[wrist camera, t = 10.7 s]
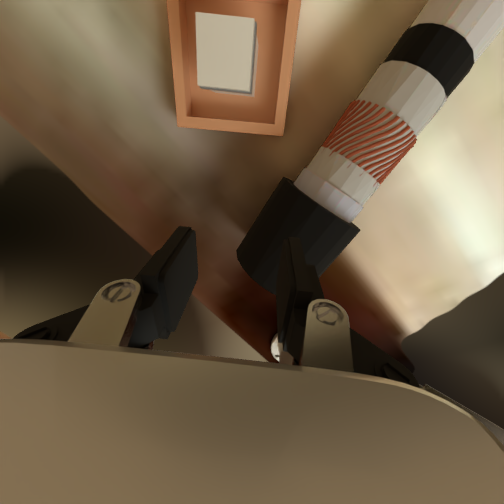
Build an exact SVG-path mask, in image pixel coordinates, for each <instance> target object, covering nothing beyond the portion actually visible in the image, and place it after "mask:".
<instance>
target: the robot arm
mask: <svg viewBox="0 0 504 504" xmlns="http://www.w3.org/2000/svg"><path fill="white" fill-rule="evenodd" d="M197 279H198V264H197V249H196V234H195V231H194V230H192V229H191V227H182V226H179V227H178V228H177V229H176V230H175V232H174V233H173V234H172V235H171V237H170V238H169V239H168V240H167V242H166V243H165V244H164V245H163V247H162V248H161V249H160V250H158V251H157V252H156V253H155V254H154V255H153V257H152V258H151V259H150V260H149V262H148V263H147V264H146V265H145V266H144V267H143V269H142V270H141V271H140V272H139V274H138V275H137V276H136V277H135V279H134V280H131V279H123V280H117V281H114V282H111V283H109V284H107V285H105V286H104V287H103V288H101V289H100V291H98V293H97V294H96V296H95V298H94V300H93V301H92V303H91V304H90V305H87V306H84V307H82V308H79V309H76V310H74V311H71V312H68V313H66V314H63V315H60V316H58V317H55V318H52V319H50V320H47V321H44V322H42V323H39V324H36V325H34V326H31V327H29V328H27V329H25V330H24V331H22V332H20V333H19V334H17V335H16V336H15V337H14V338H13V339H0V504H504V430H503V429H501V428H500V427H498V426H497V425H495V424H493V423H492V422H490V421H488V420H486V419H484V418H483V417H481V416H480V415H478V414H476V413H474V412H472V411H471V410H469V409H467V408H466V407H464V406H462V405H461V404H459V403H457V402H456V401H454V400H452V399H451V398H449V397H447V396H445V395H444V394H442V393H440V392H439V391H437V390H435V389H433V388H432V387H430V386H428V385H427V384H425V385H424V386H421V385H419V384H418V382H417V380H416V379H415V377H414V376H413V374H412V373H411V372H410V371H409V370H408V369H407V368H406V367H405V366H404V365H402V364H401V363H400V362H398V361H397V360H395V359H394V358H392V357H391V356H390V355H388V354H387V353H385V352H384V351H382V350H381V349H380V348H378V347H377V346H375V345H374V344H372V343H371V342H370V341H368V340H367V339H365V338H364V337H362V336H361V335H360V334H358V333H357V332H355V331H354V330H352V329H351V328H350V327H349V319H348V315H347V313H346V312H345V310H344V309H343V308H342V307H341V306H340V305H338V304H337V303H335V302H333V301H330V300H326V299H325V298H324V295H323V292H322V288H321V285H320V282H319V278H318V275H317V272H316V268H315V266H314V265H311V264H306V261H305V257H304V253H303V249H302V245H301V241H300V238H295V237H288V239H287V240H286V239H284V240H283V246H282V252H281V257H280V263H279V269H278V275H277V281H276V304H277V330H278V333H277V334H276V335H275V336H274V337H273V339H272V342H271V352H272V355H273V356H274V358H275V359H276V360H277V361H279V364H278V363H270V362H260V361H252V360H242V359H234V358H224V357H215V356H206V355H196V354H187V353H177V352H168V351H158V350H152V349H153V345H154V340H155V339H158V338H162V339H168V337H169V335H170V332H174V331H175V330H176V327H177V325H178V323H179V320H180V318H181V316H182V314H183V311H184V309H185V307H186V304H187V302H188V300H189V297H190V295H191V293H192V291H193V288H194V286H195V284H196V281H197Z"/></svg>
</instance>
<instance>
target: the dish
mask: <svg viewBox="0 0 504 504" xmlns="http://www.w3.org/2000/svg"><path fill="white" fill-rule="evenodd" d="M300 5H301V0H167V11H168V23H169V34H170V45H171V57H172V68H173V79H174V91H175V102H176V113H177V124H178V127H186V128H198V129H209V130H220V131H231V132H242V133H253V134H264V135H275V136H283V133H284V125H285V118H286V110H287V103H288V95H289V88H290V80H291V73H292V65H293V58H294V50H295V43H296V35H297V28H298V20H299V13H300ZM195 12H201V13H211V14H220V15H229V16H238V17H248V18H254V20H255V21H256V22H257V39H258V58H257V70H256V82H255V94H254V97H251V96H242V95H232V94H223V93H215V92H213V91H211V90H206V89H201V88H200V86H198V84H197V49H196V15H195Z"/></svg>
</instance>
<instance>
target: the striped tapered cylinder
mask: <svg viewBox="0 0 504 504" xmlns="http://www.w3.org/2000/svg"><path fill="white" fill-rule="evenodd" d="M503 28H504V0H428V2H427V3H426V5H425V6H424V8H423V9H422V10H421V12H420V13H419V15H418V16H417V18H416V19H415V21H414V22H413V23H412V25H411V26H410V28H408V29H407V30H406V31H405V33H404V34H403V35H402V37H401V38H400V39H399V41H398V42H397V44H396V45H395V47H394V48H393V50H392V51H391V53H390V54H389V55H388V57H387V58H386V60H385V61H384V63H382V64H381V65H380V66H379V68H378V69H377V70H376V72H375V73H374V75H373V76H372V78H371V79H370V81H369V82H368V83H367V85H366V86H365V88H364V89H363V91H362V92H361V94H360V95H359V96H358V98H357V99H356V100H354V101H353V102H351V103H350V105H349V106H348V108H347V109H346V111H345V112H344V114H343V115H342V117H341V118H340V119H339V121H338V123H337V124H336V126H335V127H334V129H333V130H332V132H331V133H330V134H329V136H328V137H327V139H326V140H325V142H324V143H323V145H322V146H321V147H320V149H319V151H318V152H317V154H316V155H315V157H314V158H313V159H312V161H311V162H310V164H309V165H308V167H307V168H305V167H304V169H303V170H302V172H301V173H300V175H299V176H298V178H297V179H296V181H295V182H292V181H291V180H289V179H287V178H285V177H283V178H282V180H281V182H280V183H279V185H278V186H277V188H276V189H275V191H274V193H273V194H272V196H271V197H270V199H269V200H268V202H267V204H266V205H265V207H264V208H263V210H262V211H261V213H260V214H259V216H258V218H257V219H256V221H255V222H254V224H253V225H252V227H251V229H250V230H249V232H248V233H247V235H246V236H245V238H244V240H243V241H242V243H241V244H240V246H239V247H238V249H237V250H236V251H237V258H238V261H239V262H240V264H241V266H242V268H243V269H244V270H245V271H246V272H247V274H248V275H249V276H250V277H251V278H252V279H253V280H254V281H256V282H257V283H258V284H259V285H260V286H262V287H263V288H265V289H266V290H268V291H269V292H271V293H272V294H275V295H276V281H277V275H278V269H279V263H280V257H281V252H282V246H283V240H284V239H286V240H287V239H288V237H295V238H300V241H301V245H302V249H303V253H304V257H305V261H306V264H311V265H314V266H315V268H316V272H317V275H318V278H319V277H320V276H321V275H322V274H323V272H324V271H325V270H326V269H327V268H328V267H329V266H330V264H331V263H332V262H333V261H334V260H335V259H336V258H337V256H338V255H339V254H340V253H341V252H342V251H343V250H344V248H345V247H346V246H347V245H348V244H349V243H350V242H351V241H352V239H353V238H354V237H355V236H356V235H357V234H358V233H359V231H360V229H359V228H358V227H357V226H356V225H354V224H353V223H352V221H353V219H354V218H355V217H356V216H357V215H358V213H359V212H360V211H361V210H362V209H363V207H362V206H363V205H364V203H365V202H366V201H367V200H368V199H369V198H370V197H371V196H372V195H373V193H374V192H375V191H376V190H377V189H378V187H379V185H380V184H381V183H382V182H383V181H384V179H385V178H386V177H387V176H388V175H389V173H390V172H391V171H392V170H393V169H394V167H395V166H396V165H397V164H398V163H399V162H400V160H401V159H402V158H403V157H404V156H405V155H406V154H407V152H408V151H409V150H410V149H411V148H412V147H414V144H415V143H416V140H417V139H416V137H417V136H418V135H419V133H420V132H421V131H422V130H423V129H424V127H425V126H426V125H427V124H428V123H429V122H430V120H431V119H432V118H433V117H434V116H435V115H436V114H437V113H438V111H439V110H440V108H441V107H442V106H443V104H444V103H445V102H446V99H447V98H448V96H449V95H450V94H451V93H452V92H453V90H454V89H455V88H456V87H457V86H458V85H459V83H460V82H461V81H462V80H463V79H464V77H465V76H466V75H467V74H468V73H469V71H470V69H471V68H472V66H473V64H474V63H475V62H476V60H477V59H478V58H479V57H480V56H481V54H482V53H483V52H484V51H485V50H486V48H487V47H488V46H489V45H490V44H491V42H492V41H493V40H494V39H495V38H496V36H497V35H498V34H499V33H500V31H501V30H502V29H503Z"/></svg>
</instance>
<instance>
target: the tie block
mask: <svg viewBox="0 0 504 504" xmlns="http://www.w3.org/2000/svg"><path fill="white" fill-rule="evenodd" d="M195 15H196V49H197V84H198V86H200V88H201V89H206V90H211V91H213V92H215V93H223V94H232V95H242V96H251V97H254V94H255V82H256V70H257V58H258V39H257V22H256V21H255V20H254V18H248V17H238V16H229V15H220V14H211V13H201V12H195Z"/></svg>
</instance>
